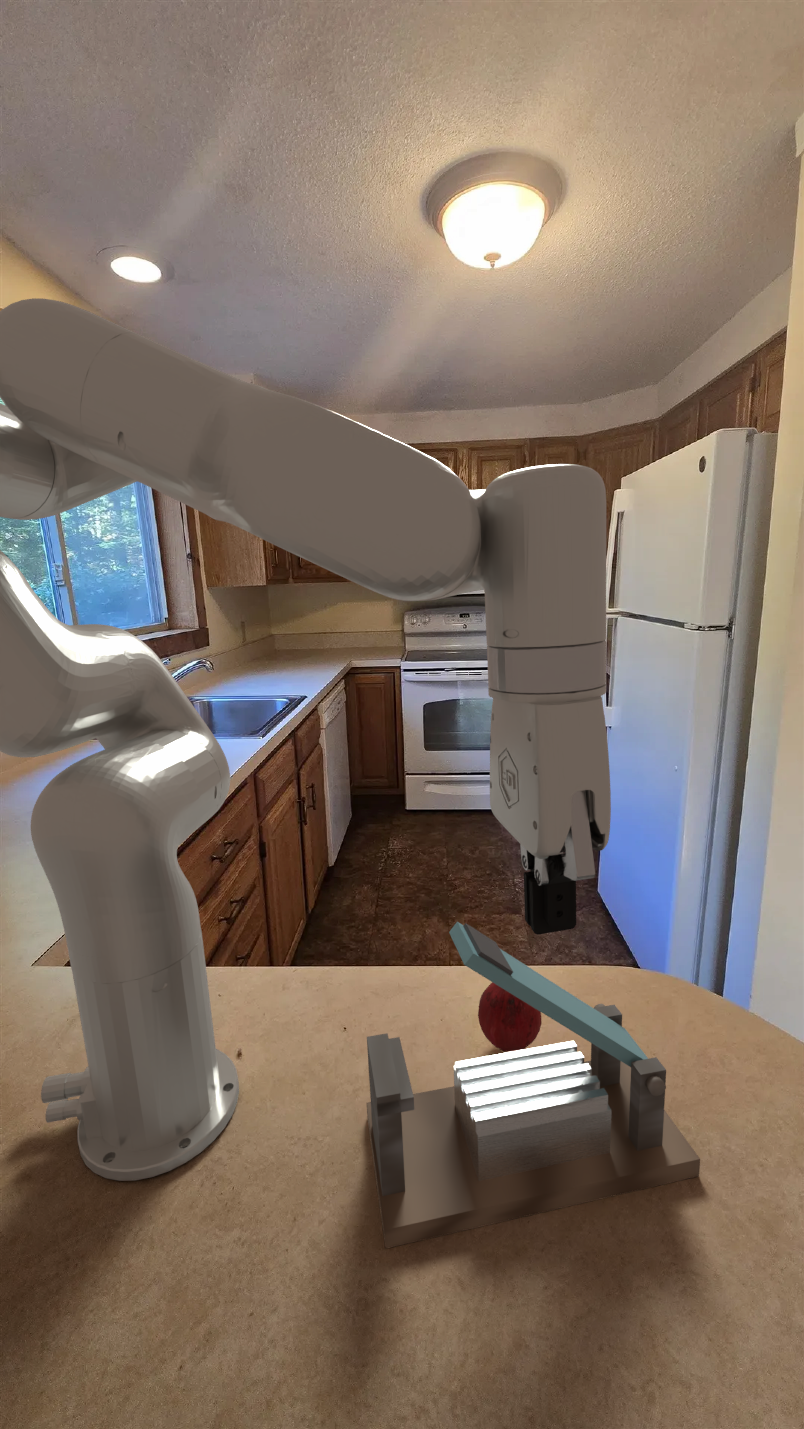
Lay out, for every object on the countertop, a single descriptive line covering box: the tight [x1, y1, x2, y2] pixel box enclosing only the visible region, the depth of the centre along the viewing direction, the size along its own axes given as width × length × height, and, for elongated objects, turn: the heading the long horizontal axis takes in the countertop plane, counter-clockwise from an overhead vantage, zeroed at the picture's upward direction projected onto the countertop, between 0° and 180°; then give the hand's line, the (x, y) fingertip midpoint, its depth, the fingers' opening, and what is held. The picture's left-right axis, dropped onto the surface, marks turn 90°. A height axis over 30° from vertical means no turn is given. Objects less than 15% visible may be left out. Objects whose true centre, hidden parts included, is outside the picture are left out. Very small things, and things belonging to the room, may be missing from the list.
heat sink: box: [453, 1040, 611, 1181], centre depth 44 cm, size 10×6×4 cm, turn 100°
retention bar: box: [449, 921, 649, 1067], centre depth 43 cm, size 18×4×1 cm
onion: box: [477, 982, 543, 1053], centre depth 54 cm, size 6×6×8 cm
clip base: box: [366, 1003, 701, 1249], centre depth 44 cm, size 23×10×10 cm, turn 100°
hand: (550, 925), depth 41 cm, fingers closed
